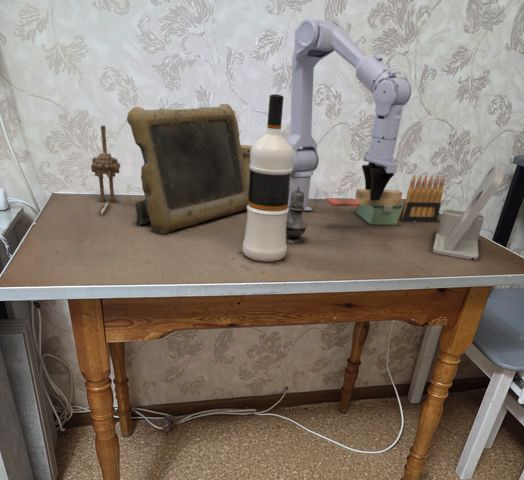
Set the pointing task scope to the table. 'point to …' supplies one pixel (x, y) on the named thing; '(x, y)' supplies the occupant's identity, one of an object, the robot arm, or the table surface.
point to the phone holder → (466, 222)
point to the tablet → (188, 165)
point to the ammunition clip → (423, 200)
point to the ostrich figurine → (105, 168)
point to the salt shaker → (295, 218)
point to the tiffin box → (379, 214)
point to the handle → (246, 161)
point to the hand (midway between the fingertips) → (372, 198)
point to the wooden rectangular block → (368, 199)
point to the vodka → (269, 190)
